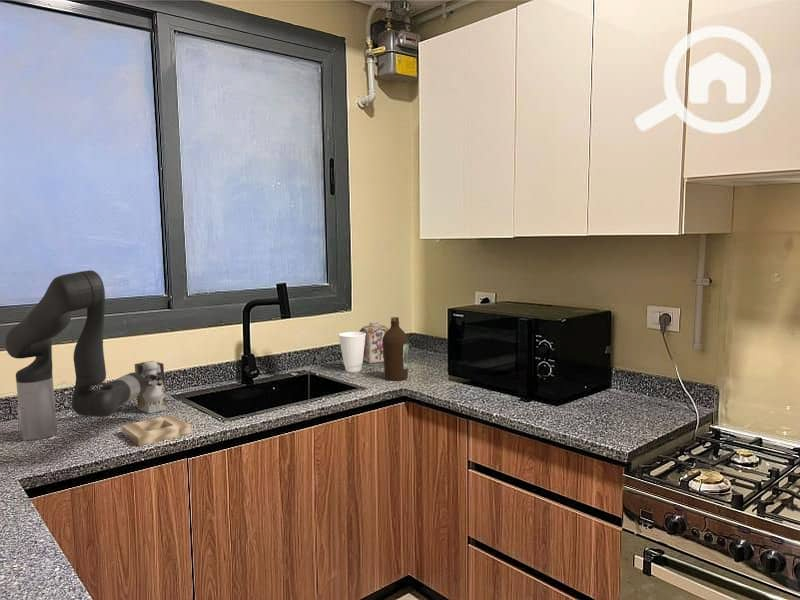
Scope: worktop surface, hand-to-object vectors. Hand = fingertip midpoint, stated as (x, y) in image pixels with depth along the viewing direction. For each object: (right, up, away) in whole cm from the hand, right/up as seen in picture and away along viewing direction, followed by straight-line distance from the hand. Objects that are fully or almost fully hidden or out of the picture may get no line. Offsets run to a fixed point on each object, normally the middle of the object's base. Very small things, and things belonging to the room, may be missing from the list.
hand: (155, 375), depth 187 cm
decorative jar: (+68, -4, +84) cm, 108 cm away
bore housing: (+7, -16, -15) cm, 22 cm away
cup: (+59, -6, +64) cm, 88 cm away
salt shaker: (0, -8, -2) cm, 9 cm away
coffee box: (-6, -13, +11) cm, 18 cm away
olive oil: (+78, -8, +47) cm, 92 cm away
